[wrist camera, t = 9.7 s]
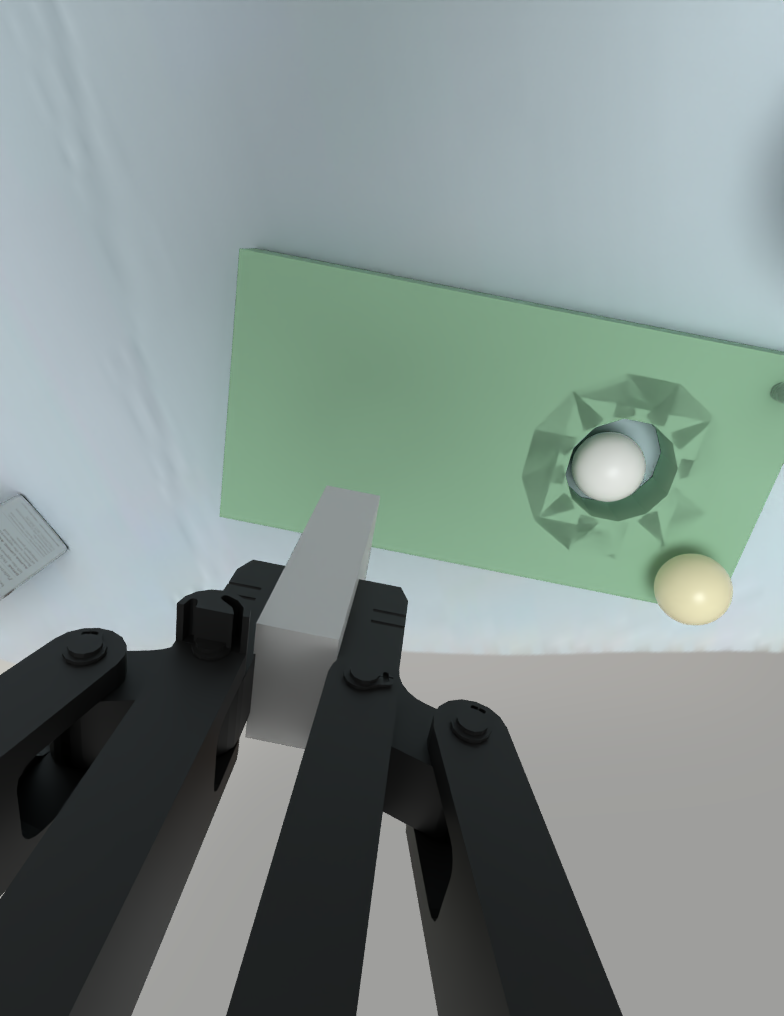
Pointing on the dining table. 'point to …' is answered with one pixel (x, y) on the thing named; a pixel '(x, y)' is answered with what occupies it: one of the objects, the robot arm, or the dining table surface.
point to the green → (490, 424)
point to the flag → (778, 392)
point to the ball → (608, 466)
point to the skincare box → (24, 544)
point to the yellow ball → (693, 589)
